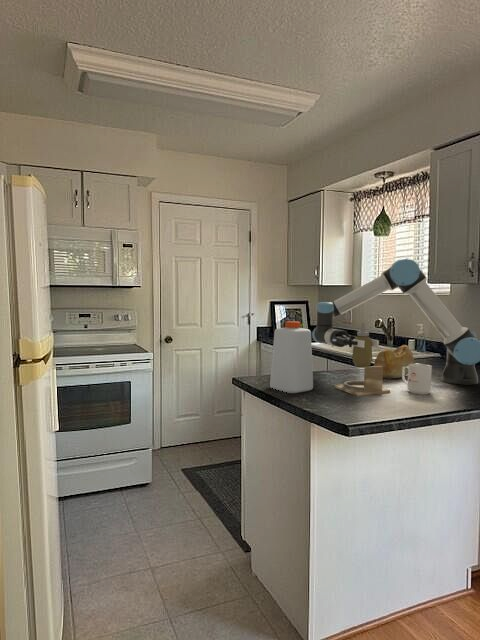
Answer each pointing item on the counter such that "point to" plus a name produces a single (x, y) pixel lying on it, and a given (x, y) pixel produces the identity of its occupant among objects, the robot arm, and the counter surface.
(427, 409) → the counter surface
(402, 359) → the rough brown rock
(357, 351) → the squeeze bottle
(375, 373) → the cup bracket
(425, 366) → the mug
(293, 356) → the plastic bottle
